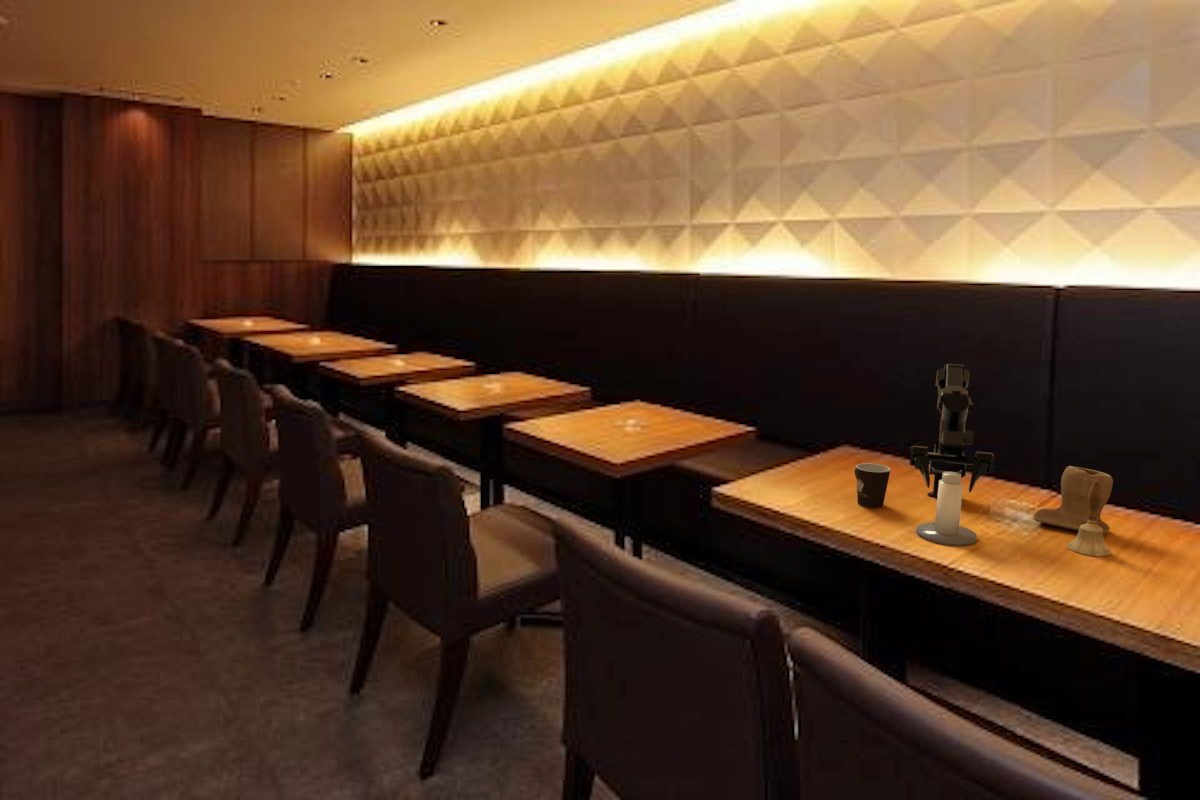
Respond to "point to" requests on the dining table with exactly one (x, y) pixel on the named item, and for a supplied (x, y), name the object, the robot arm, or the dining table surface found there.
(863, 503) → the coffee mug
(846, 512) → the dining table surface
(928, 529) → the slate plate
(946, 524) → the capped bottle
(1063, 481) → the brown boot
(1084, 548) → the hand bell
